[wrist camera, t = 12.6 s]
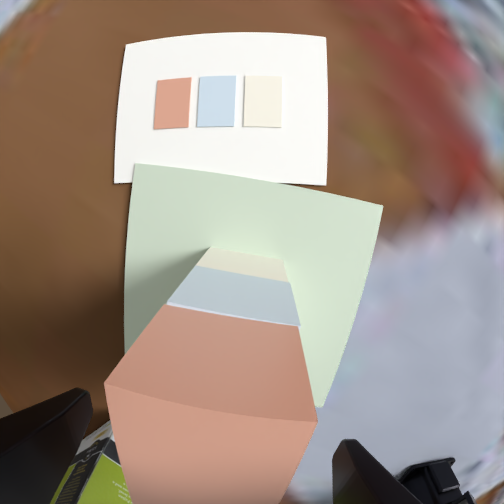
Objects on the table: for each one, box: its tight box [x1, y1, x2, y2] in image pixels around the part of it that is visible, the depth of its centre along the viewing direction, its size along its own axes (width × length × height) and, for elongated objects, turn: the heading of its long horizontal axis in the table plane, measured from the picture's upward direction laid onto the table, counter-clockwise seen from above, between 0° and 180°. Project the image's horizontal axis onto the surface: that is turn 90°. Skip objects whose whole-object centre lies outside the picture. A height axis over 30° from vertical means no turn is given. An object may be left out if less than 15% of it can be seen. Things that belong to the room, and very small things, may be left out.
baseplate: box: [124, 163, 383, 407], centre depth 17 cm, size 14×14×1 cm
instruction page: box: [114, 32, 328, 185], centre depth 15 cm, size 9×12×1 cm
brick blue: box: [167, 265, 301, 331], centre depth 11 cm, size 6×4×4 cm, turn 170°
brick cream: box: [194, 247, 288, 282], centre depth 15 cm, size 6×4×4 cm, turn 170°
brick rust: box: [104, 304, 318, 504], centre depth 7 cm, size 6×4×4 cm, turn 171°
